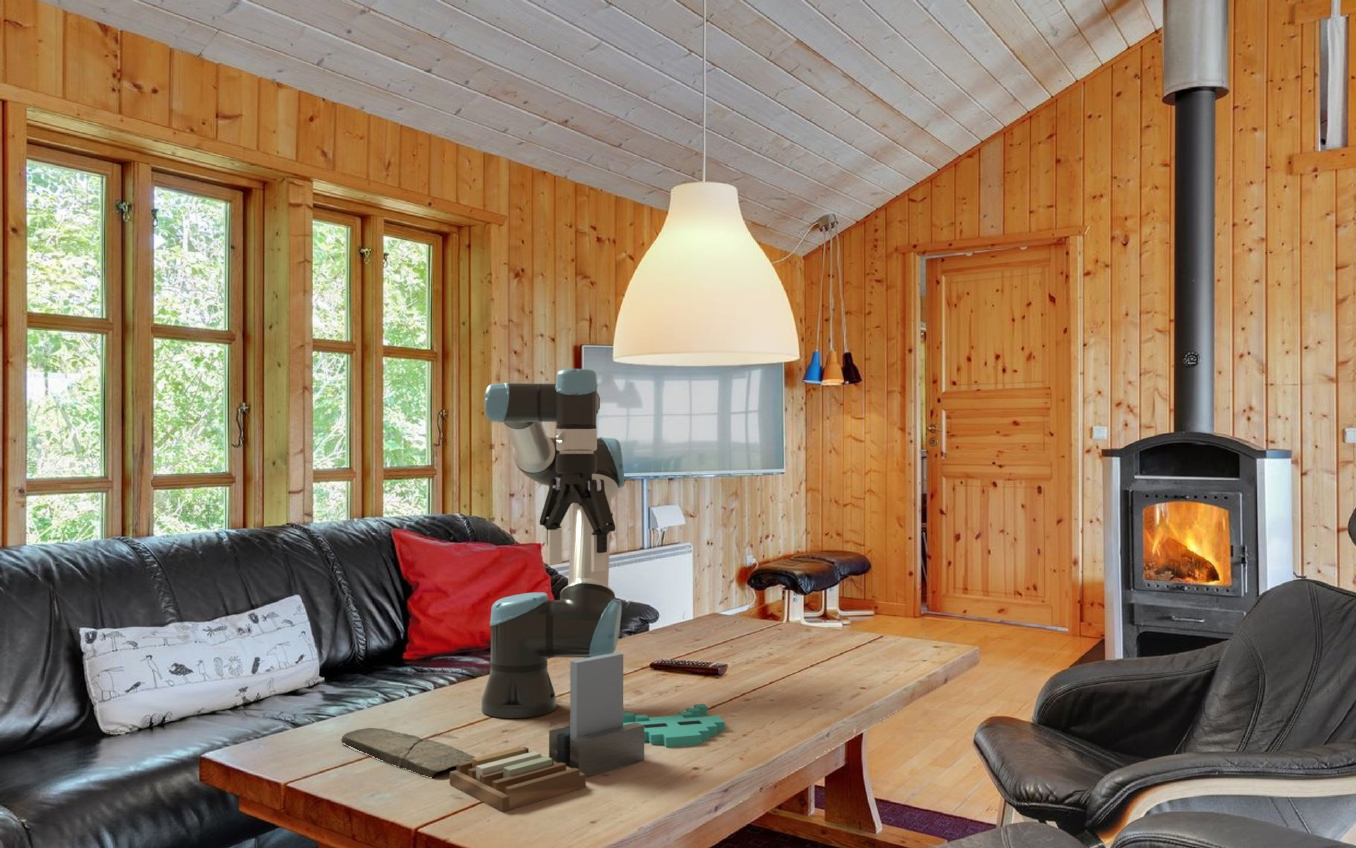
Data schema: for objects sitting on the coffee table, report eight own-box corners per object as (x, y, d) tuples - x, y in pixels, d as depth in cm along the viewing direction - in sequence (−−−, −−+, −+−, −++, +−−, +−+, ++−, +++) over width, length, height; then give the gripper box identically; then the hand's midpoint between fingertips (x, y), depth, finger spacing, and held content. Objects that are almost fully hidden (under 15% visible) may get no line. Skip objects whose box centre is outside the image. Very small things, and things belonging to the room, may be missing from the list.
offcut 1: (472, 783, 156) (472, 758, 156) (519, 770, 162) (519, 746, 162) (477, 786, 154) (478, 761, 154) (525, 773, 160) (525, 749, 161)
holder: (549, 766, 163) (549, 731, 163) (613, 749, 173) (613, 715, 173) (578, 779, 157) (578, 742, 157) (644, 760, 167) (644, 725, 167)
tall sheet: (570, 762, 162) (570, 661, 163) (616, 750, 169) (616, 652, 169) (576, 765, 161) (576, 662, 161) (623, 752, 168) (623, 654, 168)
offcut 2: (475, 791, 152) (475, 766, 152) (534, 775, 160) (534, 751, 160) (481, 794, 151) (481, 769, 151) (540, 778, 158) (540, 753, 158)
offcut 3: (503, 793, 151) (503, 767, 151) (545, 781, 157) (545, 756, 157) (509, 796, 150) (509, 770, 150) (552, 784, 155) (552, 759, 155)
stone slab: (384, 721, 184) (484, 747, 164) (384, 738, 183) (485, 766, 164) (334, 735, 176) (433, 764, 156) (335, 752, 176) (434, 784, 156)
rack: (449, 784, 155) (449, 765, 155) (530, 763, 165) (530, 745, 165) (502, 811, 143) (502, 791, 143) (585, 787, 154) (585, 768, 154)
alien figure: (607, 722, 191) (629, 753, 172) (607, 710, 191) (629, 740, 172) (704, 714, 197) (736, 744, 177) (704, 703, 197) (736, 732, 177)
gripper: (521, 452, 186) (521, 562, 185) (601, 453, 167) (601, 576, 167) (554, 452, 191) (553, 559, 190) (635, 452, 172) (634, 572, 172)
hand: (576, 567), depth 179 cm, fingers open, 13 cm apart
